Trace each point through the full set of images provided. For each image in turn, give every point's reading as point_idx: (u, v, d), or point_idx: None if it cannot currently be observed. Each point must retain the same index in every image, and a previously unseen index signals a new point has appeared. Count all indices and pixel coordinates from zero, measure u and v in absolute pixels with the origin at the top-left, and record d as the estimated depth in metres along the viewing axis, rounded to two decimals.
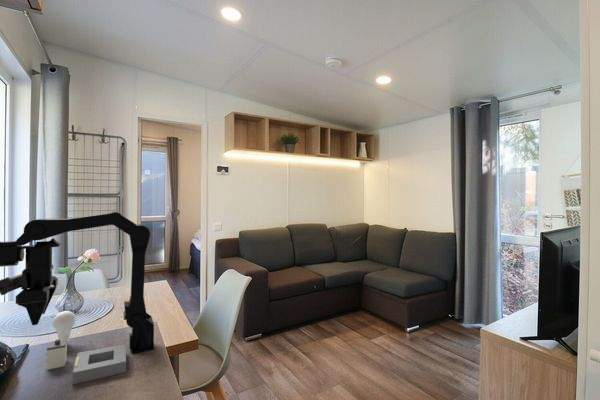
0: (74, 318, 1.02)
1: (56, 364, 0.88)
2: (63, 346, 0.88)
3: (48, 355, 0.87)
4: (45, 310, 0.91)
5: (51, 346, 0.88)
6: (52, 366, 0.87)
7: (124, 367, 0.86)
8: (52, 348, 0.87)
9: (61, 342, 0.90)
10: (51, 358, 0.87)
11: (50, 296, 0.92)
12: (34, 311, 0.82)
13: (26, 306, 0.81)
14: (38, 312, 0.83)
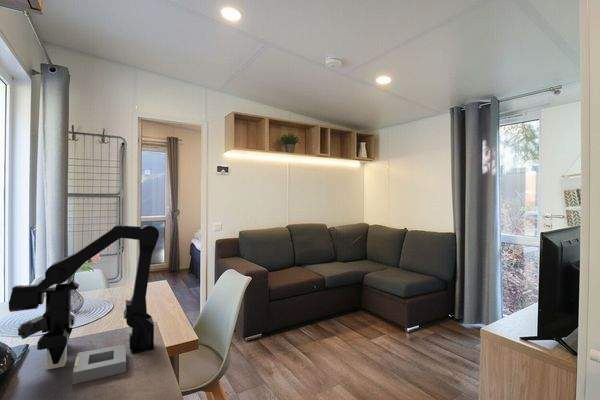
0: None
1: (56, 364, 0.88)
2: None
3: (48, 355, 0.87)
4: None
5: None
6: (52, 366, 0.87)
7: (124, 367, 0.86)
8: None
9: None
10: None
11: None
12: (55, 351, 0.86)
13: None
14: (59, 352, 0.87)
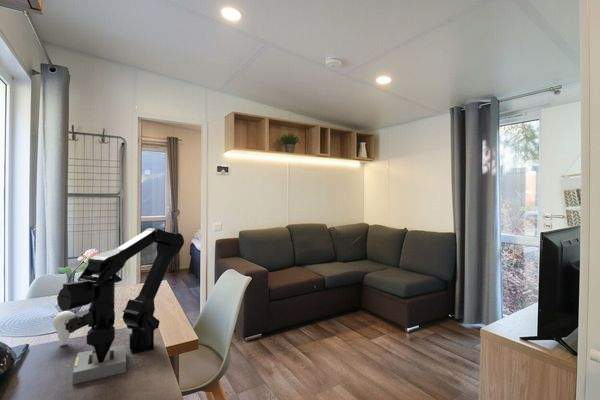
0: None
1: None
2: None
3: (93, 358, 0.85)
4: None
5: None
6: None
7: (124, 367, 0.86)
8: None
9: None
10: (96, 361, 0.86)
11: None
12: (101, 349, 0.83)
13: (94, 345, 0.82)
14: (105, 350, 0.83)
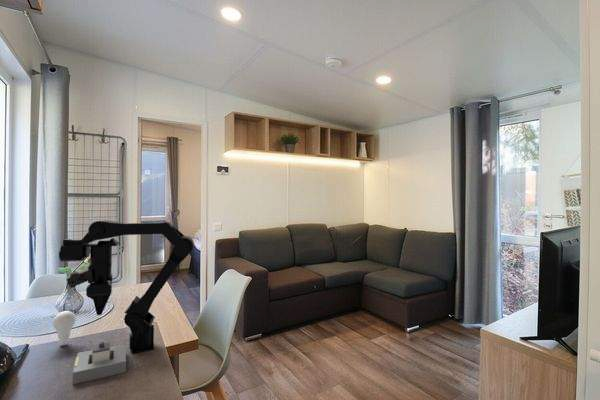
0: (74, 318, 1.02)
1: None
2: (108, 349, 0.87)
3: (93, 358, 0.85)
4: None
5: (96, 349, 0.86)
6: None
7: (124, 367, 0.86)
8: (97, 351, 0.86)
9: (105, 345, 0.89)
10: (96, 361, 0.86)
11: None
12: (99, 303, 0.92)
13: (93, 298, 0.91)
14: (103, 304, 0.93)
